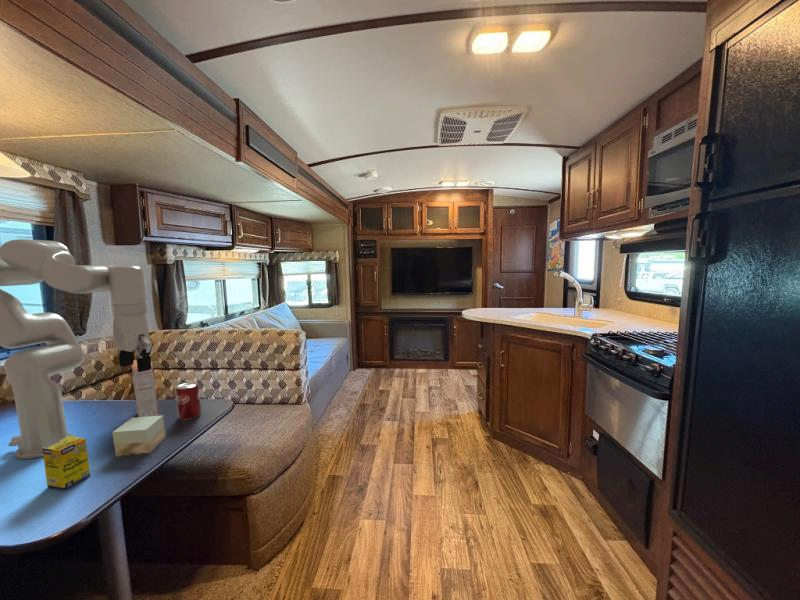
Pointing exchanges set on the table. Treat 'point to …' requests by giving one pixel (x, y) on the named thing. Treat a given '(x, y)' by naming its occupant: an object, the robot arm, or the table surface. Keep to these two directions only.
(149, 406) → the cracker box
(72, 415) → the table surface
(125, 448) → the tower base block
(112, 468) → the table surface
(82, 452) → the supplement box
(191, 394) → the soda can
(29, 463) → the table surface
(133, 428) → the tower top block
